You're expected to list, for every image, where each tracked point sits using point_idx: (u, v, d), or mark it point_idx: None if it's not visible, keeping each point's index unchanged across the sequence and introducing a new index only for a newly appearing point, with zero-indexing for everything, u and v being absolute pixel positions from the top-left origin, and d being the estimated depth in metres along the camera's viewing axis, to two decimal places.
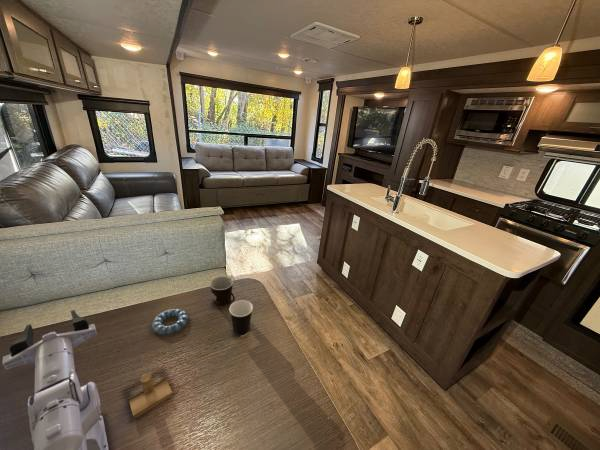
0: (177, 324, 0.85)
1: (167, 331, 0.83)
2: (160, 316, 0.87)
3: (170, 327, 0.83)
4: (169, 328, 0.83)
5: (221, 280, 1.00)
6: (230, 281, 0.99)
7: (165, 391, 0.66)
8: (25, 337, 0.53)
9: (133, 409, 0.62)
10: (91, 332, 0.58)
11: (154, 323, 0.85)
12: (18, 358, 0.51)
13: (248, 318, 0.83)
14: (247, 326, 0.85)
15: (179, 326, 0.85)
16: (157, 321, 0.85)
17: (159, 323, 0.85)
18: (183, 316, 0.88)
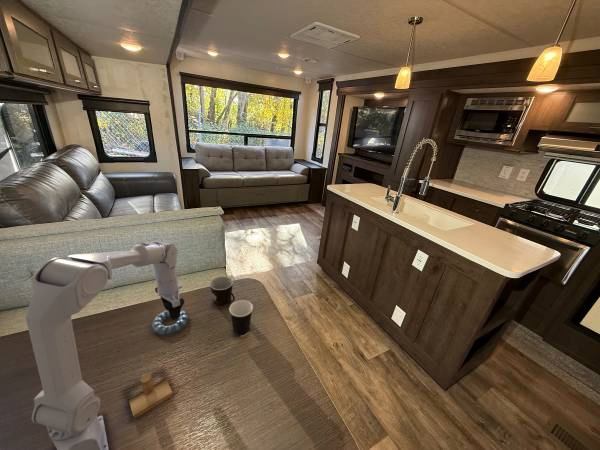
0: (177, 324, 0.85)
1: (167, 331, 0.83)
2: (160, 316, 0.87)
3: (170, 327, 0.83)
4: (169, 328, 0.83)
5: (221, 280, 1.00)
6: (230, 281, 0.99)
7: (165, 391, 0.66)
8: None
9: (133, 409, 0.62)
10: (175, 300, 0.74)
11: (154, 323, 0.85)
12: None
13: (248, 318, 0.83)
14: (247, 326, 0.85)
15: (179, 326, 0.85)
16: (157, 321, 0.85)
17: (159, 323, 0.85)
18: (183, 316, 0.88)
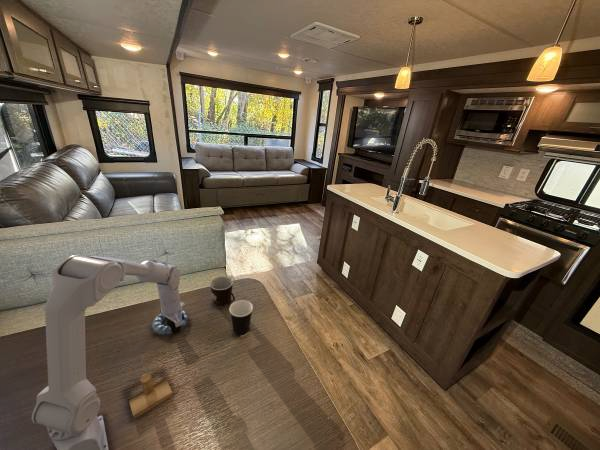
0: None
1: (167, 331, 0.83)
2: (160, 316, 0.87)
3: None
4: (169, 328, 0.83)
5: (221, 280, 1.00)
6: (230, 281, 0.99)
7: (165, 391, 0.66)
8: None
9: (133, 409, 0.62)
10: (178, 320, 0.77)
11: (154, 323, 0.84)
12: None
13: (248, 318, 0.83)
14: (247, 326, 0.85)
15: None
16: (157, 321, 0.85)
17: (159, 323, 0.85)
18: None
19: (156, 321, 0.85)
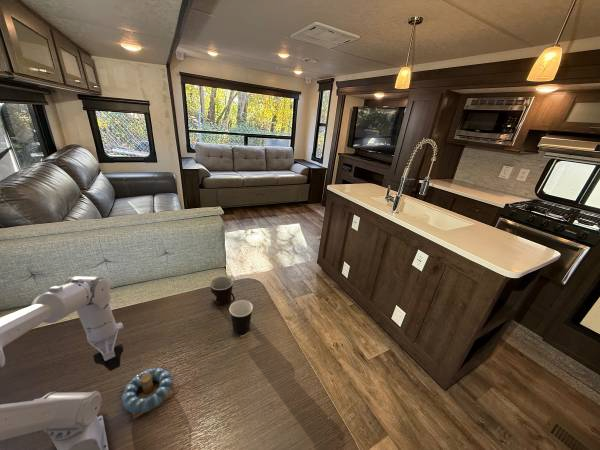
0: (156, 395, 0.62)
1: (142, 408, 0.60)
2: (134, 382, 0.65)
3: (146, 401, 0.61)
4: (145, 403, 0.61)
5: (221, 280, 1.00)
6: (230, 281, 0.99)
7: None
8: None
9: None
10: (108, 351, 0.56)
11: (125, 395, 0.62)
12: None
13: (248, 318, 0.83)
14: (247, 326, 0.85)
15: (159, 398, 0.62)
16: (129, 391, 0.63)
17: (132, 395, 0.62)
18: (165, 381, 0.66)
19: (127, 391, 0.63)
